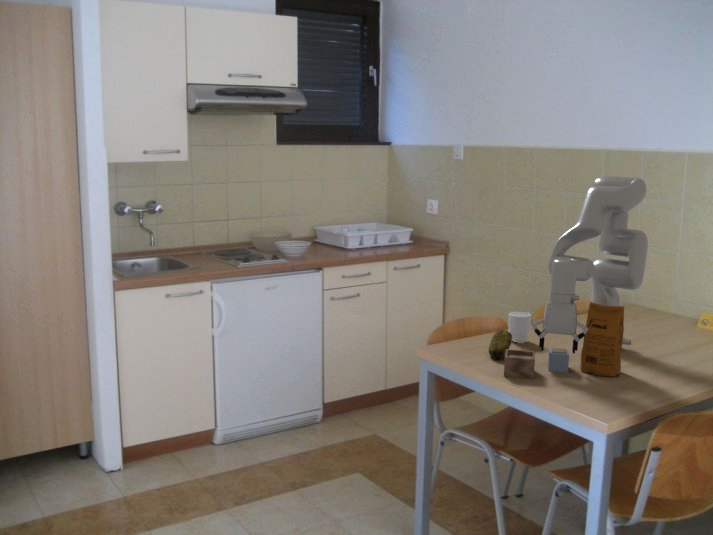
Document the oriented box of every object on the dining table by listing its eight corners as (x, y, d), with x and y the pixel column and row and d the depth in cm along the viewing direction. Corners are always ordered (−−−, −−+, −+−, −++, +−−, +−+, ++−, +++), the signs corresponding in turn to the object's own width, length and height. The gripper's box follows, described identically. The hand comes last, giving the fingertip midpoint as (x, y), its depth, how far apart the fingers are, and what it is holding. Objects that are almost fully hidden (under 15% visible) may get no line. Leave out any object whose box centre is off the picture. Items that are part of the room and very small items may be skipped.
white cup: (528, 338, 273) (529, 312, 271) (530, 344, 265) (532, 317, 264) (506, 337, 274) (507, 311, 272) (508, 343, 266) (509, 316, 264)
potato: (478, 357, 250) (479, 334, 248) (497, 349, 259) (498, 326, 258) (500, 362, 244) (501, 338, 243) (519, 353, 254) (520, 331, 253)
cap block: (567, 367, 240) (568, 348, 239) (567, 372, 234) (569, 353, 233) (548, 365, 242) (549, 346, 240) (548, 371, 236) (549, 352, 235)
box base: (533, 370, 236) (534, 351, 235) (533, 379, 228) (534, 359, 227) (504, 367, 238) (505, 349, 237) (503, 376, 230) (504, 357, 229)
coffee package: (586, 364, 244) (590, 298, 240) (624, 371, 236) (630, 303, 233) (575, 371, 236) (580, 303, 232) (615, 379, 228) (620, 309, 225)
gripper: (589, 298, 235) (585, 350, 238) (533, 294, 239) (530, 345, 242) (591, 302, 228) (587, 356, 231) (533, 298, 232) (529, 351, 235)
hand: (557, 351), depth 236 cm, fingers open, 9 cm apart
